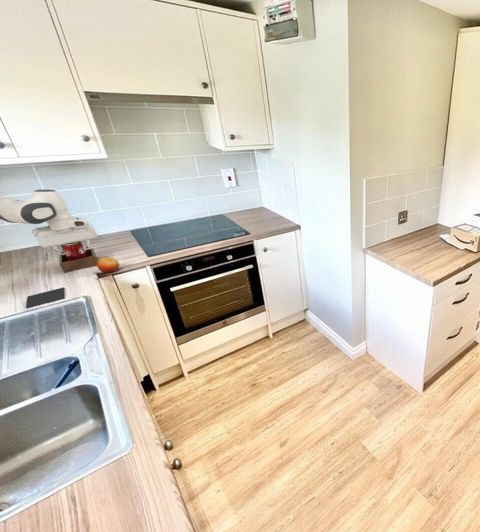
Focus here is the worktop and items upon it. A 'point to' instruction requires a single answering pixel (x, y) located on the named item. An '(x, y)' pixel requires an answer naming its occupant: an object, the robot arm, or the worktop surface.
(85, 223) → the robot arm
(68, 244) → the soda can
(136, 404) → the worktop surface
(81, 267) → the basket
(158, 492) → the worktop surface
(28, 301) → the mat
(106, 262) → the fruit
